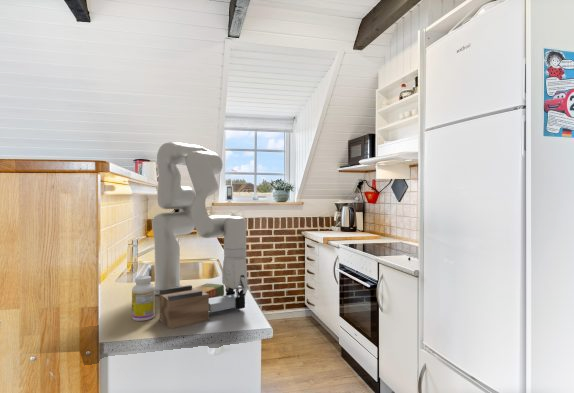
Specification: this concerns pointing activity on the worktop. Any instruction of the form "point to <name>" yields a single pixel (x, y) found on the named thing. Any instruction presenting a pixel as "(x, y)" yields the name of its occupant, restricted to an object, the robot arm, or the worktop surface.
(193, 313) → the slot box
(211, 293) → the carton
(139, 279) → the supplement bottle
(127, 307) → the worktop surface
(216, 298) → the cover plate
